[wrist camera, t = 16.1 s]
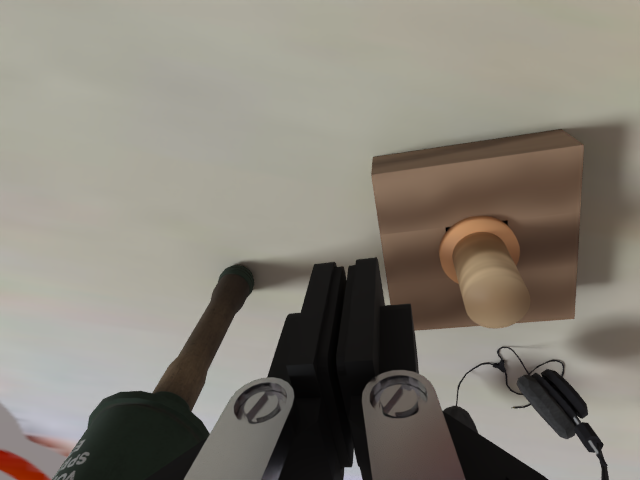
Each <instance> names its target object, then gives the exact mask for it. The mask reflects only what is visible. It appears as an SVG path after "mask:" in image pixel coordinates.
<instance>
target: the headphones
mask: <svg viewBox="0 0 640 480" xmlns="http://www.w3.org/2000/svg"><path fill="white" fill-rule="evenodd" d="M502 348H509V347H501V348H499V349H498V351H497V354H498V356H499V357H500V358H501V356H500V355H499V350H500V349H502ZM509 349H511V348H509ZM511 350H512V349H511ZM512 351H513V350H512ZM513 352H514V351H513ZM514 353H515V352H514ZM515 355H516V356H517V357H518V355H517V354H516V353H515ZM518 359H519V360H520V362H521V363H522V361H521V359H520V358H519V357H518ZM552 361H557V362H560V361H558V360H551V361H548V362H552ZM548 362H546V363H548ZM560 363H562V362H560ZM484 364H491V363H483V364H480V365H484ZM543 364H545V363H543ZM543 364H541V365H543ZM480 365H478V366H476V367H475V368H477V367H479V366H480ZM491 365H493V367H495V368H498V369H500V370H501V371H502V372H503V373H504V372H505V375H506V385H507V374H506V369H505V367H504V360H503V359H502V358H501V361H500V363H498V364H497V363H494V364H491ZM522 365H523V363H522ZM541 365H539V366H541ZM539 366H537V367H536V368H538V367H539ZM562 366H563V372H562V376H561V375H559V374H558V373H557V372H556V371H553V370H549V369H546V370H545V371H544V372H542V373H541V375H542V377H541V376H540V375H538V374H537V373H534V374H533V375H532V376H530V374H531V373H532V372H533V371H534V370H535V369H536V368H535V369H534V370H533V371H531V372H530V373H528V371H527V370H526V368H525V366H524V365H523V367H524V368H525V370H526V372H527V373H528V375H523V376H522V377H520V378H518V381H517V386H518V387H519V389H520V391H521V392H522V394H520V393H516V392H514V391H512V390H511V389H510V387H509V386H508V385H507V387H508V388H509V389H510V391H512V392H514V393H516V394H518V395H524V396H525V397H526V399H527V400H528V401H529V402H530V404H529V405H527V406H524V407H513V408H525V407H528V406H530V405H532V406H533V407H534V409H535V410H536V411H537V412H538V413H539V414H540V416H541V417H542V418H543V419H544V420H545V421H546V422H547V423H548V424H549V425H550V426H551V427H552V428H553V429H554V431H555V432H556V433H557V434H558V435H559V436H560V437H562V438H565V439H569V438H571V437H573V436H575V433H576V434H577V436H578V437H579V439H580V440H581V442H582V443H583V445H584V446H585V447H586V449H587V450H588V451H589V452H594V453H595V452H596V455H597V457H598V458H599V460H600V464H601V468H602V479H601V480H609V477H608V471H607V466H608V465H607V464H606V462H605V460H604V457H603V454H602V451H601V449H602V447H603V445H604V444H603V443H602V442H601V440H600V439H599V438H598V436H597V435H596V433H595V432H594V431H593V429H592V428H591V426H590V425H589V424H588V423H584V422H582V423H581V421H580V420H579V418H578V417H580V418H582V419H583V418H584V417H585V416H587V415H588V410H587V405H586V403H585V402H584V400H583V399H582V398H581V397H580V395H579V394H578V393H577V392H576V391H575V390H574V388H573V387H572V386H571V385H570V384H569V383H568V382H567V381H566V380H565V379H564V378H563V374H564V365H563V363H562ZM475 368H473V369H475ZM473 369H471V370H470V371H472V370H473ZM470 371H469V372H470ZM469 372H467V373H466V374H468V373H469ZM466 374H465V376H466ZM465 376H464V377H465ZM464 377H463V378H462V380H463V379H464ZM462 380H461V381H460V383H459V385H458V390H459V387H460V384H461V382H462ZM458 390H457V400H458ZM444 412H445V413H447V414H449V415H450V416H452V417H453V418H455V419H456V420H458V421H459V422H461V423H462V424H464V425H466V426H467V427H469V428H470V429H472V430H473V431H475V432H476V433H478V431H477V429H476V426H475V424H474V422H473V420H472V418H471V417H470V415H469V413H468V412H467V411H466V410H464V409H462V408H461V407H458V406H457V401H456V406H452V407H449V408H446V409H445V410H444ZM577 416H578V417H577Z"/></svg>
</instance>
